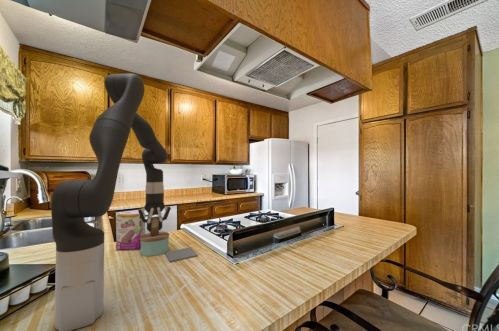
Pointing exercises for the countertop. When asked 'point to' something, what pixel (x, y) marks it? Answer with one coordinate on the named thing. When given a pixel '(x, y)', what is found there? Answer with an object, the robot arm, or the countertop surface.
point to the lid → (154, 232)
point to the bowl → (154, 247)
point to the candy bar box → (129, 230)
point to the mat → (180, 254)
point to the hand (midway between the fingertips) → (154, 230)
